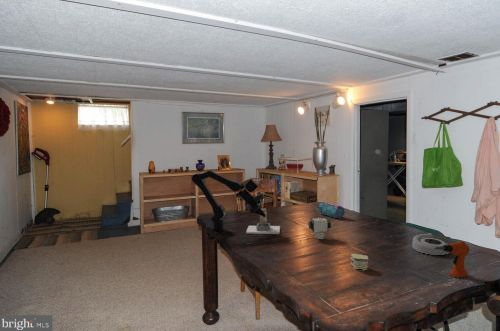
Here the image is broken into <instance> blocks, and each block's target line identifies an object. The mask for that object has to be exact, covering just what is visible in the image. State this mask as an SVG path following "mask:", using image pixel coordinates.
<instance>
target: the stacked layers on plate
mask: <svg viewBox="0 0 500 331" xmlns="http://www.w3.org/2000/svg"><path fill="white" fill-rule="evenodd" d="M350 256H351V257H350V259H351V261H350V264H351V265H352V266H353V267H352V269H353V268H354V269H362V270H361V271H365V270H367V271H368V268H369V266H368V265H369V264H368V263H369V256H368V255H363V254H359V253H351V254H350ZM354 269H353V270H354Z"/></svg>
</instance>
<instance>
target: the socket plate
mask: <svg viewBox="0 0 500 331" xmlns="http://www.w3.org/2000/svg"><path fill="white" fill-rule="evenodd" d="M280 231H281V225H271V223H268V222H267V226H260V222H257V224H256V225H248V226H247V229H246V232H245V233H246V234H250V235H251V234H254V235H255V234H256V235H258V234H259V235H261V234H262V235H264V234H265V235H280V233H281V232H280Z"/></svg>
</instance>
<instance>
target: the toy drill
mask: <svg viewBox="0 0 500 331" xmlns="http://www.w3.org/2000/svg"><path fill="white" fill-rule="evenodd" d="M447 244H448V243H447ZM434 249H441V250H444V251H447V252H449V254H454V255H455V258H454V260H453V261H452V263H453V269H452V270H451V271H449V272H448V274H450V275H451V276H454V277H464V278H466V277H465V276H467V275H468V271H467V270H466V268H465V258H466V257H467V255H469V253H470V251H471V250H470V246H469V245H468V244H467V243H466V242H465V241H459V242H452V243H449V244H448V245H444V246H443V247H435V248H434ZM450 275H449V276H450ZM451 276H450V277H451ZM454 277H453V278H454ZM467 277H468V276H467Z"/></svg>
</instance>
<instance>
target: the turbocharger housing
mask: <svg viewBox="0 0 500 331" xmlns="http://www.w3.org/2000/svg"><path fill="white" fill-rule="evenodd" d="M444 245H448V243H446V241H443V240H442V239H438V238H434V235H433V234H432V233H430V232H429V233H421V234H417V235H415V236H413V238H412V246H411V247H412V248H413V250H414V249H415V250H414V251H416V252H417V251H418V253H419V252H421V253H420V254H422V253H425V254H424V255H426V254H433V255H445V254H447V255H449V254H450V252H447V251H444V250H441V249H434V248H435V247H443V246H444ZM445 256H446V255H445Z"/></svg>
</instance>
